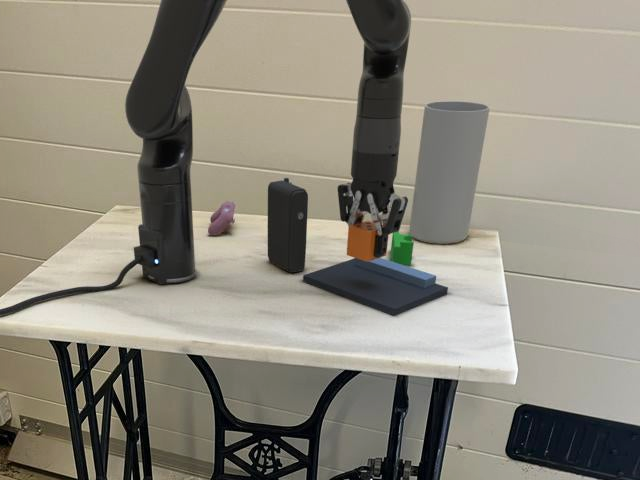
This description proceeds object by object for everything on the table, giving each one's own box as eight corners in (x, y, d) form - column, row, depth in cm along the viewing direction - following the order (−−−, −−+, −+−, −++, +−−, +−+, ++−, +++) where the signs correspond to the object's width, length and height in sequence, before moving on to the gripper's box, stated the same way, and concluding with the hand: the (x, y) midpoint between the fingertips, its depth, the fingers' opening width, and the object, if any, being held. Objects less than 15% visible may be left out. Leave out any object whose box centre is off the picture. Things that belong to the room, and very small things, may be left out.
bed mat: (393, 315, 124) (395, 299, 122) (302, 281, 137) (303, 266, 135) (447, 293, 132) (449, 278, 130) (356, 263, 145) (357, 249, 143)
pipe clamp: (411, 271, 141) (414, 247, 139) (391, 270, 142) (394, 246, 139) (408, 252, 150) (411, 229, 147) (390, 251, 151) (393, 228, 148)
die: (367, 262, 126) (370, 232, 123) (346, 255, 129) (348, 225, 126) (386, 255, 129) (389, 226, 126) (365, 249, 132) (367, 220, 128)
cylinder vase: (429, 224, 166) (447, 99, 151) (478, 235, 159) (501, 106, 144) (397, 236, 159) (412, 106, 144) (446, 248, 152) (468, 113, 137)
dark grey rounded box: (308, 271, 141) (311, 189, 132) (290, 275, 140) (293, 192, 130) (282, 258, 147) (284, 178, 138) (265, 261, 146) (266, 181, 137)
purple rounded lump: (224, 243, 160) (238, 213, 156) (205, 233, 158) (219, 203, 155) (226, 230, 167) (240, 201, 164) (208, 220, 166) (221, 191, 162)
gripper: (327, 143, 120) (322, 247, 131) (395, 157, 112) (384, 267, 122) (358, 137, 124) (350, 238, 135) (425, 150, 116) (412, 257, 126)
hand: (366, 252), depth 128 cm, fingers closed on die, 5 cm apart
